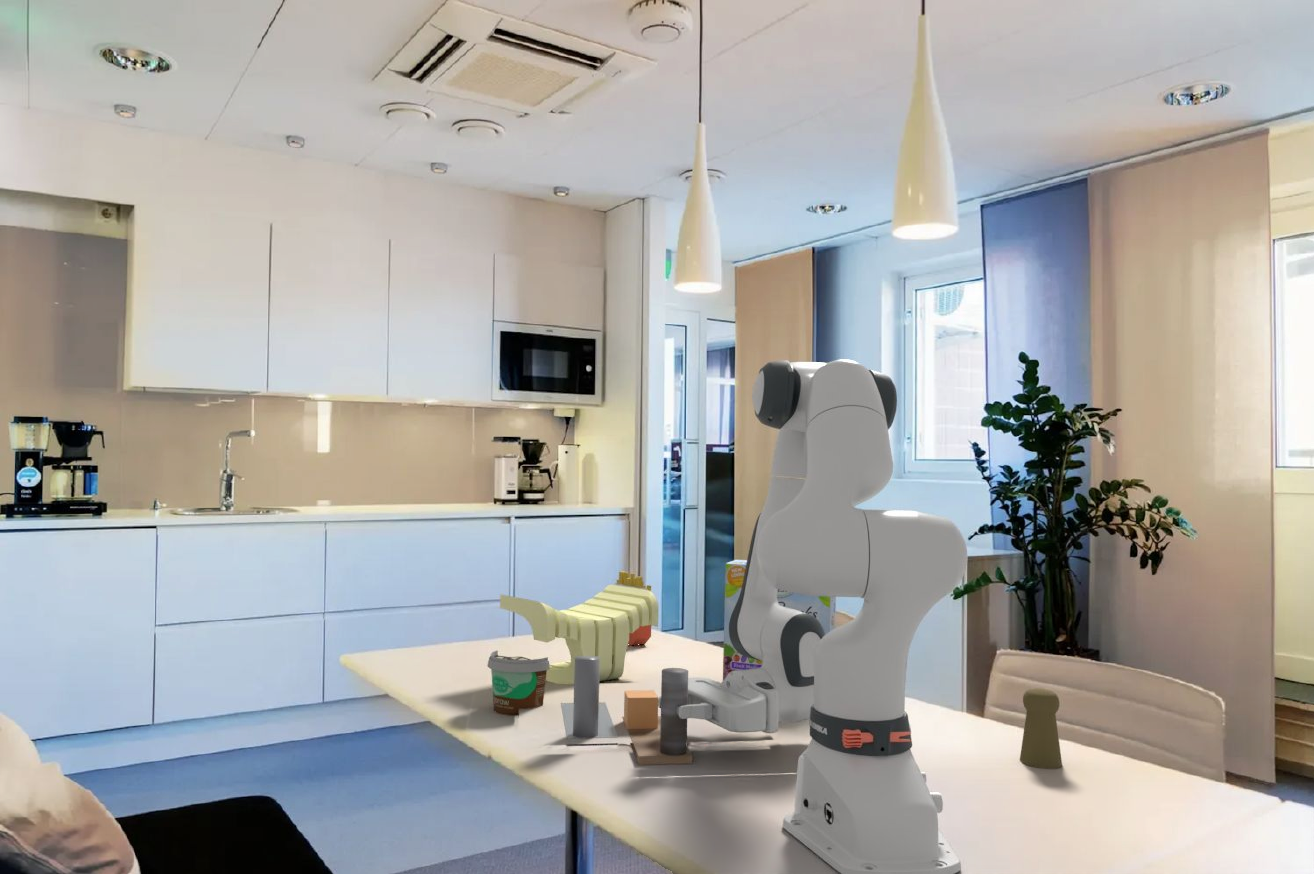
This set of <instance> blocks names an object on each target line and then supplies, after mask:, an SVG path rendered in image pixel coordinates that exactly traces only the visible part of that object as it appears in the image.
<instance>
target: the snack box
mask: <svg viewBox="0 0 1314 874" xmlns="http://www.w3.org/2000/svg"><path fill="white" fill-rule="evenodd" d="M746 564H747V559H733V560H731V561H729V562H726V563H725V573H724V574H725V576H724V577H725V578H724V579H725V581H724V613H723V614H724V615H723V617H724V618H723V619H724V621H723V622H724V624H723V652H722V655H723V660H722V681H724V680H725V678H726V676H727V675H728V674H729V673H730V672H732V671H736V670H747V669H757V668H760V667H761V666H762V665H763V661H760V660H756V659H752V658H748V657H745V656H743V655H741V654H739V653H738V652H737V651H736V650H735V648H734V647H733V645H732V643H731V640H730V636H729V622H730V618H731V615H732V612H733V610H734V608H735V605H736V603H737V601H738V598H739V596H740V592H741V588H742V584H743V579H744V574H745V569H746ZM777 600H778V603H779V605H780V606H783V607H786V608H791V609H795V610H798V611H801V612H804V613H807V614H810V615H812V616H814V617H815V618H816V619H817V620H818V621H819V622H820V623H821V625H822V627H823V630H824V633H825V635H826V634H827V633H828V632H830V631H831V630H833V629H835V628H836V618H837V617H836V615H837V614H836V611H837V607H836V606H837V597H826V596H807V595H802V594H797V593H792V592H788V591H784V590H780V589H778V591H777Z"/></svg>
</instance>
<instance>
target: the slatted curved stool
mask: <svg viewBox="0 0 1314 874" xmlns="http://www.w3.org/2000/svg"><path fill="white" fill-rule="evenodd" d="M499 595H500V598H499V599H500V601H499V608H500V609H501V610H502V609H503V610H506V611H509V612H512V613H516V614H517V615H519V616H521V617H523V618H524V619H525V620H526V621H527V622H528V624H529V626H530V628H531V630H532V636H533V640H535V641H539V642H543V643H550V642H553V641H554V640H556V638H557V639H561V638H562V639H565V643H566V646H567V648H568V652H569V654H570V660H567V661H565V662H564V661H561V662H556V663H549V665H550V669H549V670H547V673H546V680H547V681H546V682H550V683H554V684H556V685H574V669H575V657H577V656H597V657H599V658H600V673H599V682H603V681H609V680H610V681H611V680H614V679H615V680H616V679H619V678H622V676H623V674H624V670H625V659H626V653H627V650H628V646H629V645H628V642H629V633H633V632H634V631H635V630H636V629H638V628H639V626H648V625H651V627H652V626H653V627H657V628H658V627H659V602H658V599H657V597H656V595H655V594H654V593H653V592H652V590H651V591H649V590H644V589H637V588H631V587H624V586H617V585H615V584H608V585H607V586H606V587H605V588H603V590H602V591H599V592H598V593H597V594H596V595H595V594H594V596H593V598H589V599H587V600H585V601H584V602H583V603H579V604H577V605H575V606H572V607H569V608H567V609H560V610H558V609H555V608H554V607H553V606H550V605H548V604H547V603H543V602H541V601H537V600H532V599H528V598H522V597H515V596H510V595H505V594H502V593H501V594H499Z"/></svg>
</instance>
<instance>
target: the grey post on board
mask: <svg viewBox="0 0 1314 874" xmlns="http://www.w3.org/2000/svg"><path fill="white" fill-rule="evenodd" d="M688 678H689V670H688V669H686V668H682V667H681V668H680V667H667V668H663V669H662V670H661V685H660V687H661V691H660V692H661V695H660V696H661V708H660V715H658V728H649V729H627V728H626V730H627V732H628V734H629V737H630V739H631V742H629V745H630V747H631V749H632V752H633V755H634V757H635V760H636V762H637V764H638V765H639V766H641V765H682V764H683V765H684V764H686V765H687V764H693V753H691V750H690V749H689V747H688V746H687V745H688V718H687V719H681V718H679V717H678V716H676V706H677V705H679V704H688ZM621 718H622V720H623V722H624V716H621ZM624 724H625V722H624ZM638 765H637V766H638Z"/></svg>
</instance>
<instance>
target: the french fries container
mask: <svg viewBox="0 0 1314 874" xmlns="http://www.w3.org/2000/svg"><path fill="white" fill-rule="evenodd" d="M635 575H636V573H634V572H633V573H631V572H630V573H629V572H627V571H624V570H623V571H622V570H621V571H620V570H619V571H618V579H616V582H615V583H614V585H617V586H624V587H631V588H637V589H644V590H649V591H651V592H652V585H644V580H643V576H636V577H635ZM629 576H630V577H629ZM651 637H652V626H651V625H648V626H639V628H638V629H636V630H635V631H634V632H633V633H629V642H628V644H629V645H628V646H630V645H636V646H639V645H638V644H645V645H646V644H647V643H648V641H649V640H650V638H651Z"/></svg>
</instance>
